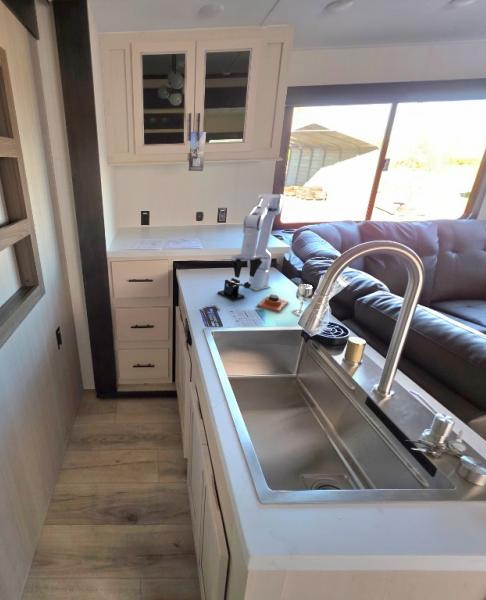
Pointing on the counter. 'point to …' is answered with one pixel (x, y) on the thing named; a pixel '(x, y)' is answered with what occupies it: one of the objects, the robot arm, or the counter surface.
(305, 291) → the wineglass
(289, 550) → the counter surface
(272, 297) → the button
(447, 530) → the counter surface
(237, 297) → the bracket
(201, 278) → the counter surface
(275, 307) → the block
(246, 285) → the lever
